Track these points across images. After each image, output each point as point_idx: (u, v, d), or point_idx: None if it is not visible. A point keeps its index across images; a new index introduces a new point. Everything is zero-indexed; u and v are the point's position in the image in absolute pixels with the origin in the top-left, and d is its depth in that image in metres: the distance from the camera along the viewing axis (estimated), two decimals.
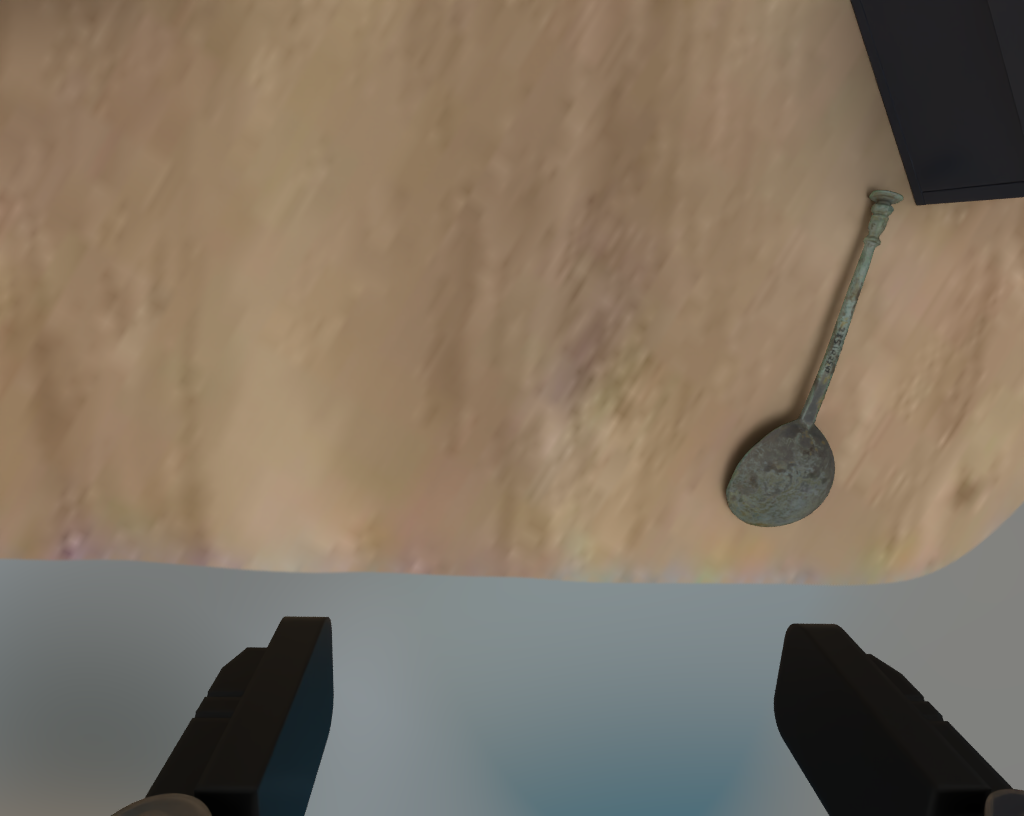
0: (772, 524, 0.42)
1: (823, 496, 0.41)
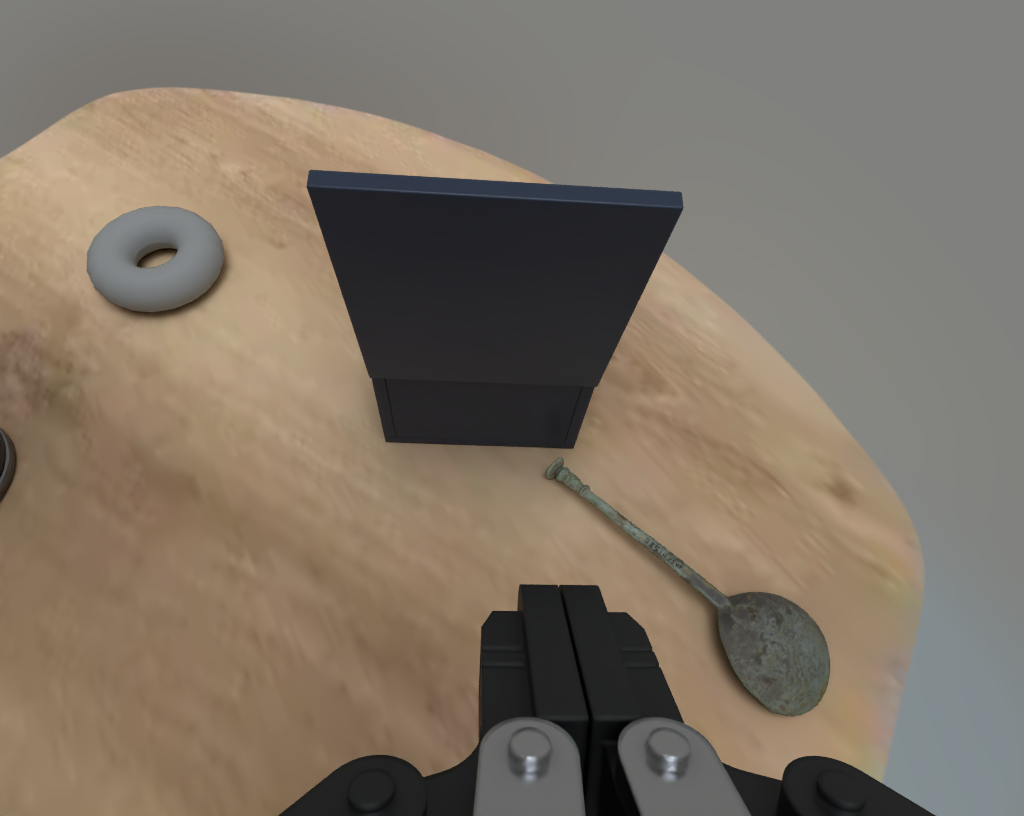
0: (825, 679, 0.39)
1: (806, 617, 0.40)
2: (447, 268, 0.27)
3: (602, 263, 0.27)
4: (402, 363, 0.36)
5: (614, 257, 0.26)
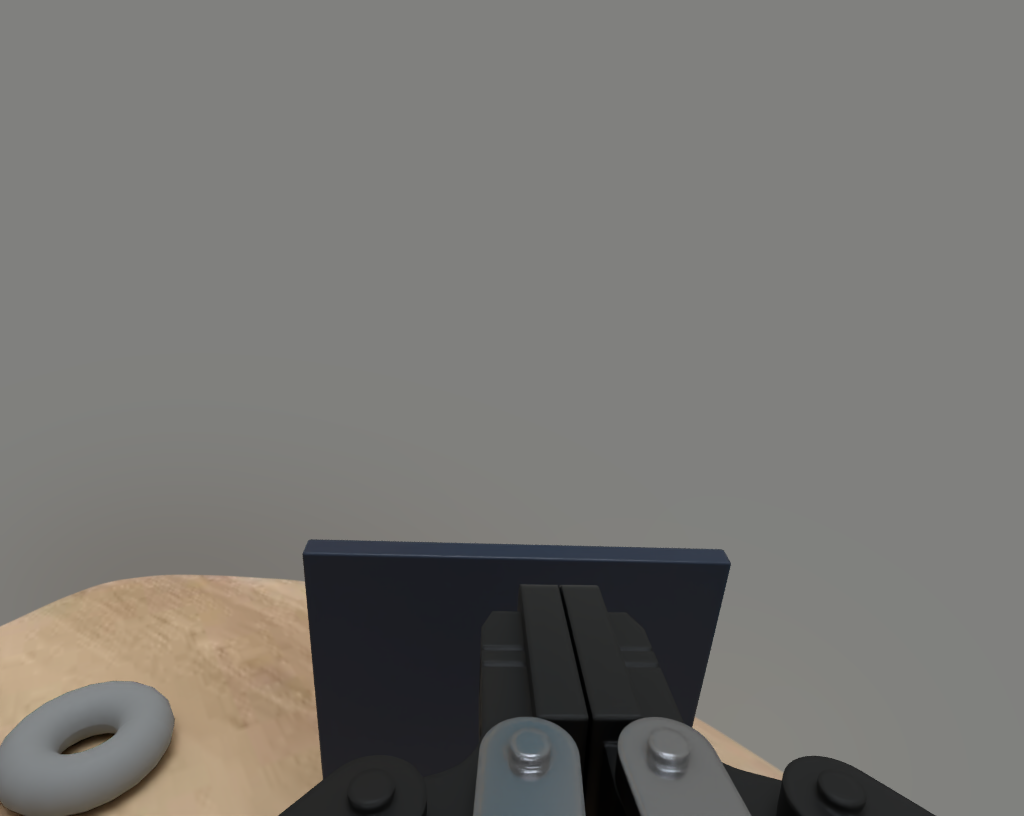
0: None
1: None
2: (456, 667, 0.22)
3: None
4: None
5: (659, 639, 0.22)
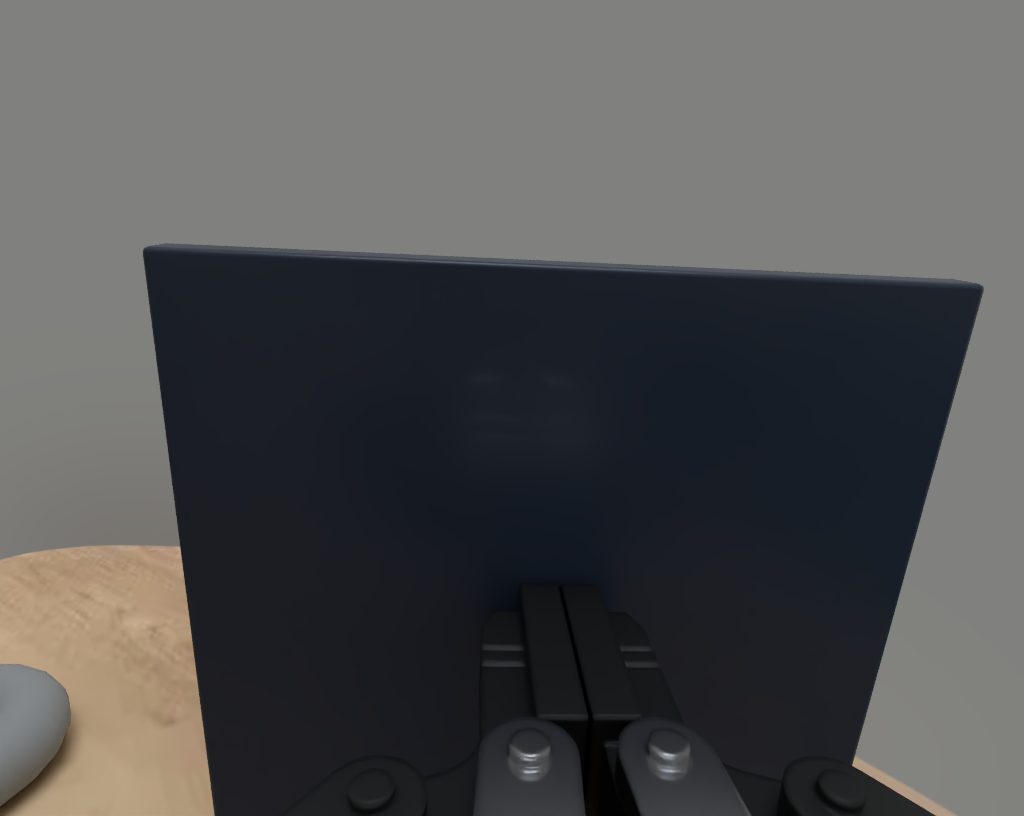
0: None
1: None
2: (454, 523, 0.11)
3: (812, 484, 0.12)
4: None
5: (838, 460, 0.11)
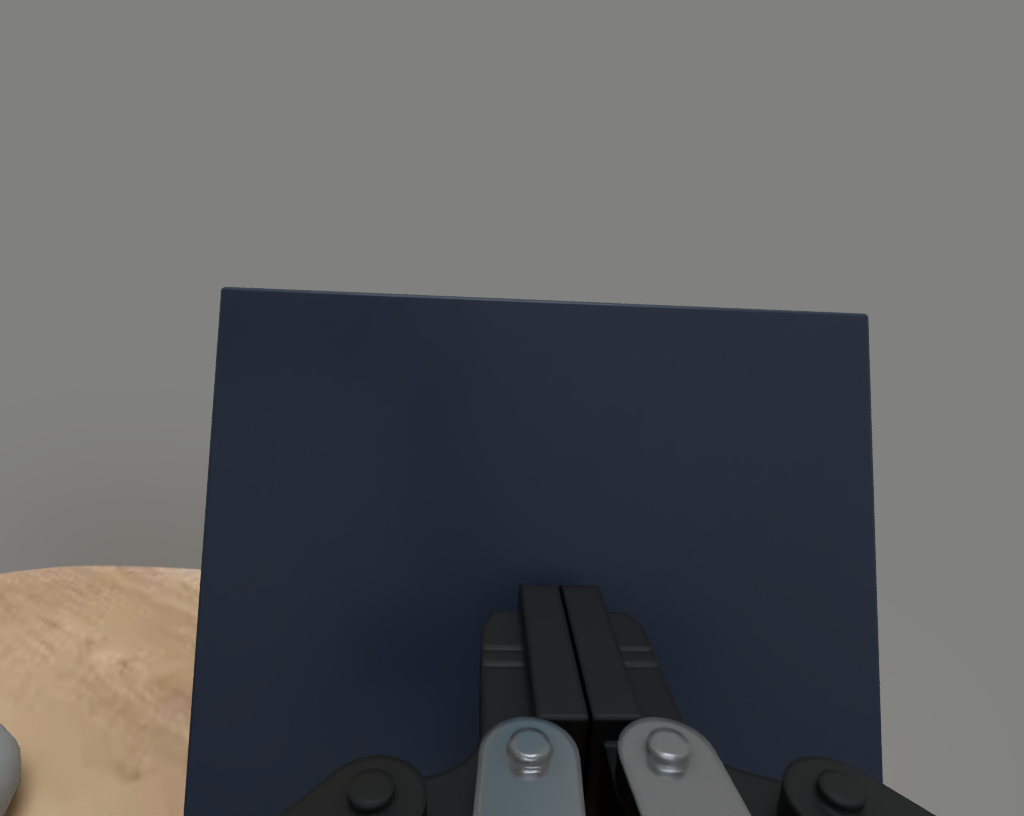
0: None
1: None
2: (454, 522, 0.13)
3: (770, 482, 0.13)
4: None
5: (788, 460, 0.13)
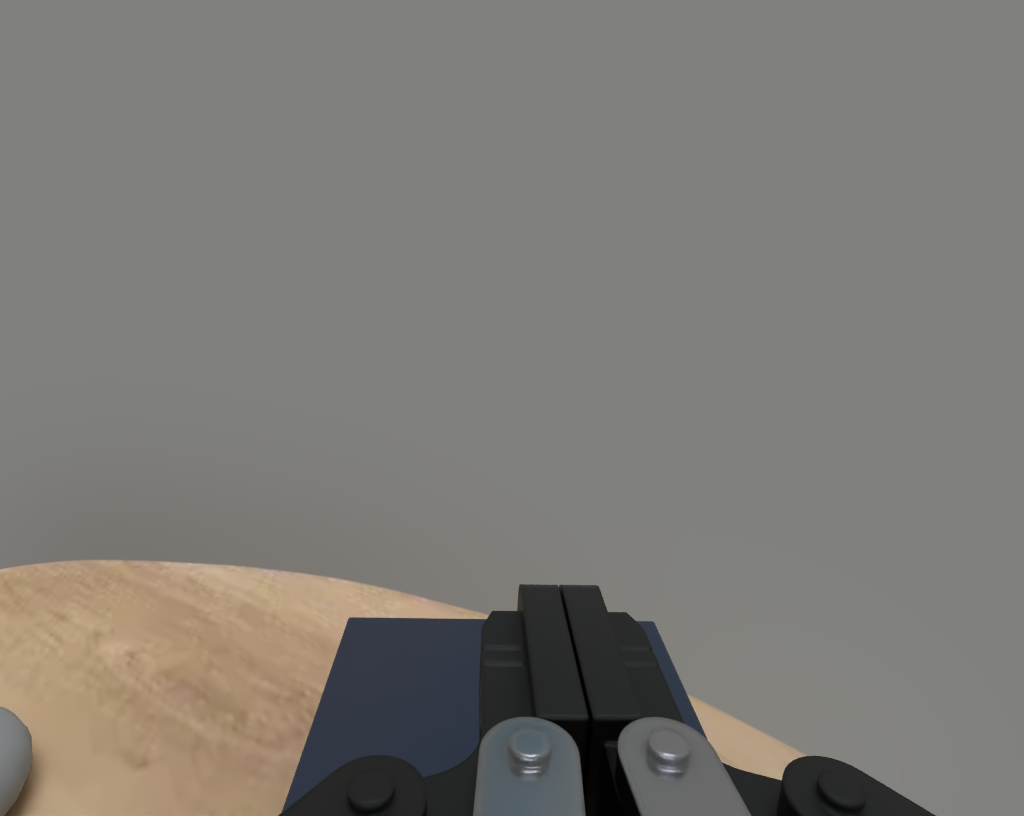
0: None
1: None
2: (456, 689, 0.24)
3: None
4: None
5: None
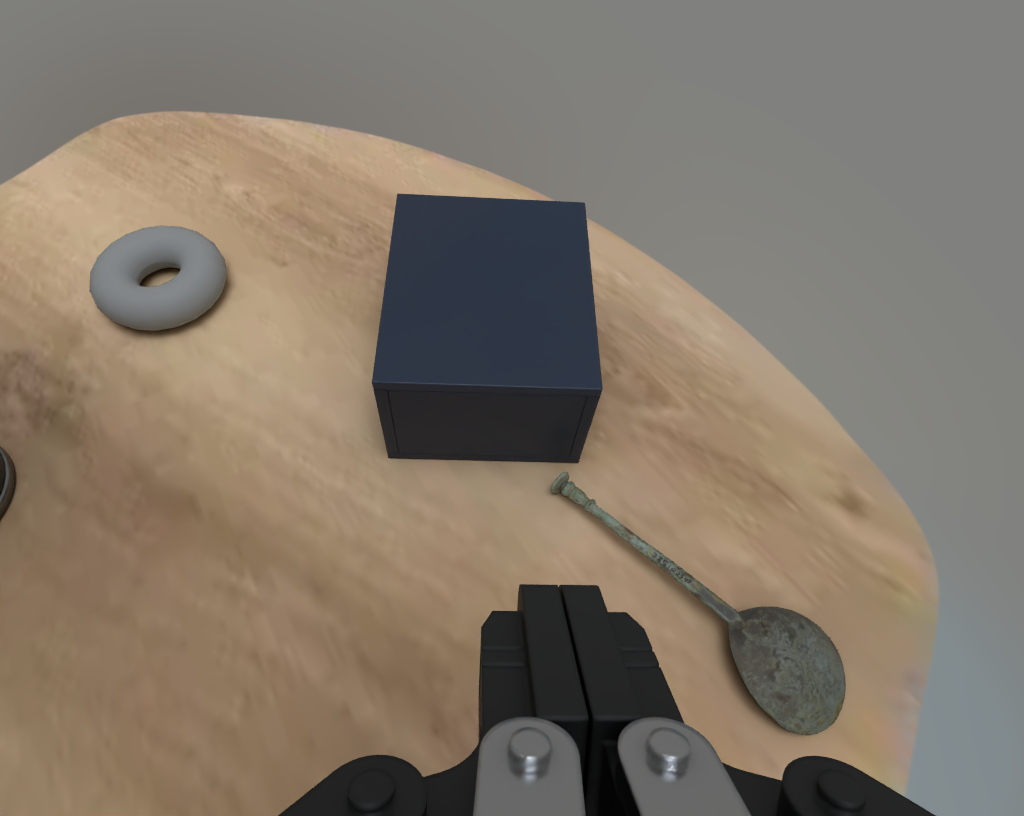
0: (841, 696, 0.38)
1: (819, 632, 0.39)
2: (462, 242, 0.44)
3: (556, 236, 0.45)
4: (411, 352, 0.39)
5: (561, 231, 0.45)
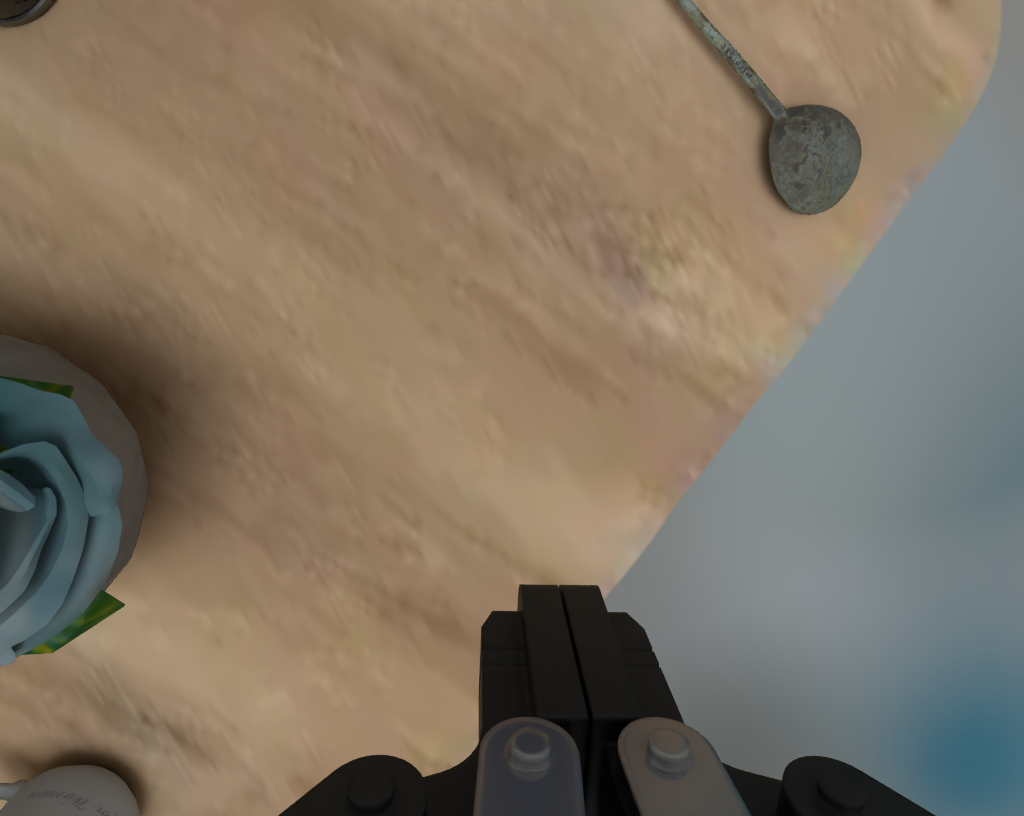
0: (847, 186, 0.46)
1: (852, 131, 0.44)
2: None
3: None
4: None
5: None
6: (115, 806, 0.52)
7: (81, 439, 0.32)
